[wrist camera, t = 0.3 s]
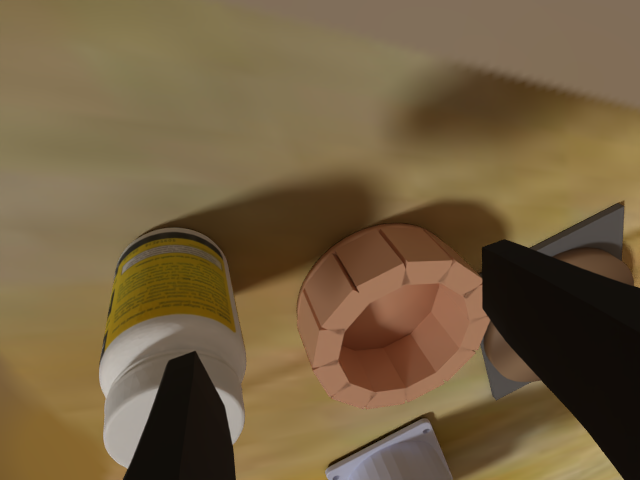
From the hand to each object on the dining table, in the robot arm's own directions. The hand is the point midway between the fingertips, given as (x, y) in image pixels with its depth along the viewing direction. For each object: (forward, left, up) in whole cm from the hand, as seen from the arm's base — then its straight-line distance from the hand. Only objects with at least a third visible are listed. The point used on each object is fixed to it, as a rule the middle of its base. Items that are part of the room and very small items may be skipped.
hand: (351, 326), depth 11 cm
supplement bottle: (-2, +6, -10) cm, 12 cm away
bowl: (-9, -2, -10) cm, 14 cm away
